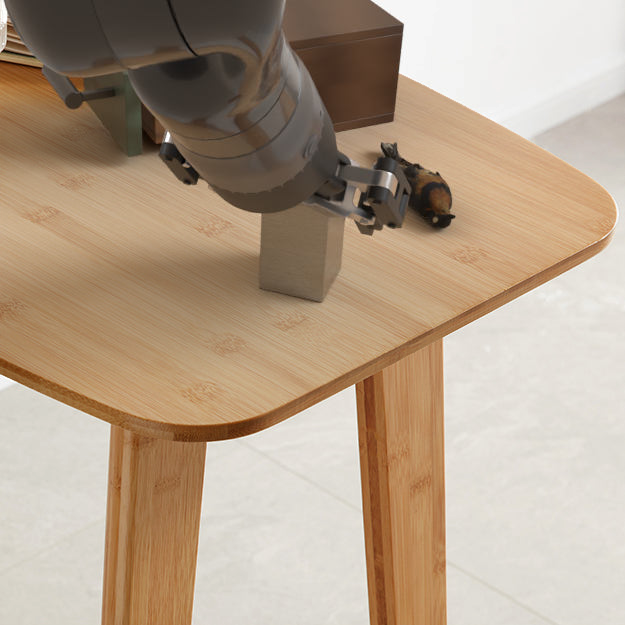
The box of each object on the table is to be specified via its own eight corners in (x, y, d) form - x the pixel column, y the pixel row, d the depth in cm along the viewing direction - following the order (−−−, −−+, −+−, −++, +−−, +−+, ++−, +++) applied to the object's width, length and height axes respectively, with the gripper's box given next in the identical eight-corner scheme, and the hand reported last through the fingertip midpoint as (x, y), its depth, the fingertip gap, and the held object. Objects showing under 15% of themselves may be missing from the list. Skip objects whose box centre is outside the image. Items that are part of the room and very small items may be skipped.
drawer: (78, 166, 85) (72, 82, 81) (38, 108, 92) (30, 28, 88) (275, 130, 91) (279, 50, 87) (223, 78, 98) (224, 2, 94)
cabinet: (247, 149, 90) (249, 47, 85) (191, 89, 98) (190, -7, 93) (393, 121, 96) (404, 23, 90) (329, 66, 104) (335, -26, 99)
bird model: (424, 243, 80) (428, 211, 79) (371, 153, 91) (374, 123, 89) (466, 239, 81) (471, 207, 80) (409, 150, 92) (412, 120, 90)
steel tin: (322, 303, 74) (330, 197, 69) (257, 288, 75) (261, 182, 70) (342, 267, 77) (351, 164, 73) (279, 253, 78) (284, 150, 74)
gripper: (403, 77, 57) (428, 173, 72) (141, 29, 60) (220, 131, 75) (366, 219, 56) (399, 285, 71) (102, 162, 59) (190, 238, 74)
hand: (307, 206), depth 73 cm, fingers open, 8 cm apart
